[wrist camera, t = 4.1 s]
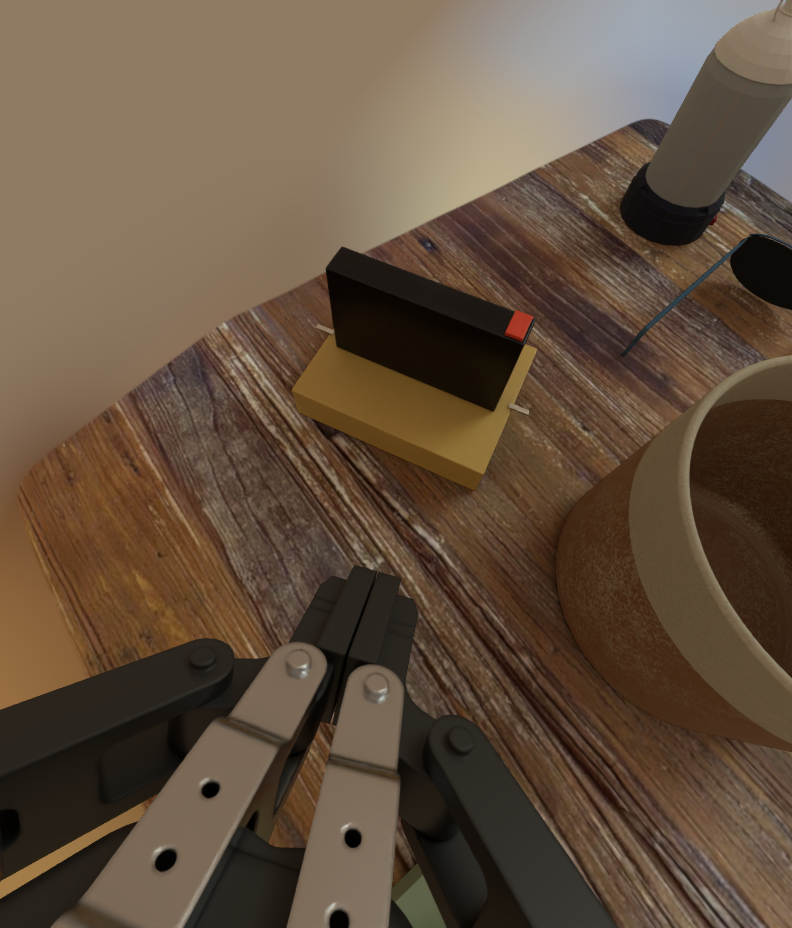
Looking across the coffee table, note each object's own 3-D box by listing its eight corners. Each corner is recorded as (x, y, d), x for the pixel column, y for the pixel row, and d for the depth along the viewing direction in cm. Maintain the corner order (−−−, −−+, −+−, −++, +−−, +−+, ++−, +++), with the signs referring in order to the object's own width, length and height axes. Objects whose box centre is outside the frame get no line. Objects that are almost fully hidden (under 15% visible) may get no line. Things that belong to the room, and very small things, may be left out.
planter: (711, 450, 33) (915, 319, 20) (858, 679, 27) (1278, 694, 14) (512, 508, 31) (605, 400, 18) (625, 773, 25) (881, 888, 12)
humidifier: (724, 231, 43) (1122, -269, 20) (654, 254, 41) (999, -259, 18) (670, 178, 45) (963, -311, 23) (603, 198, 44) (845, -306, 21)
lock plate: (285, 407, 33) (276, 382, 30) (354, 305, 37) (352, 275, 35) (489, 498, 31) (500, 481, 28) (538, 378, 35) (553, 352, 32)
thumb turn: (335, 347, 32) (324, 264, 25) (349, 327, 33) (341, 241, 26) (493, 412, 30) (526, 342, 23) (503, 390, 31) (537, 315, 24)
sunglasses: (906, 393, 36) (979, 358, 31) (794, 515, 33) (855, 497, 28) (718, 268, 41) (757, 222, 36) (609, 366, 38) (635, 330, 33)
